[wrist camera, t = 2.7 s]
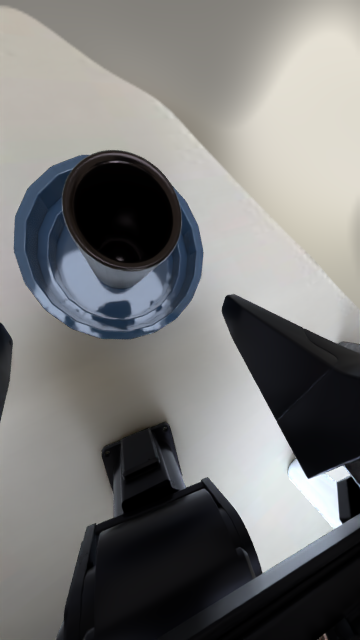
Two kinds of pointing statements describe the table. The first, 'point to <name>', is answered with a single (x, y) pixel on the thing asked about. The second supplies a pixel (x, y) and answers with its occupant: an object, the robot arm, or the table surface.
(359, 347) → the flask
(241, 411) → the table surface
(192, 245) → the basin
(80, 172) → the grey hollow cylinder
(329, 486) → the milkshake
